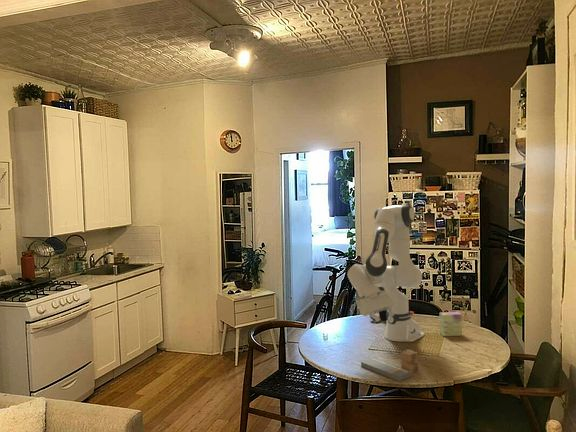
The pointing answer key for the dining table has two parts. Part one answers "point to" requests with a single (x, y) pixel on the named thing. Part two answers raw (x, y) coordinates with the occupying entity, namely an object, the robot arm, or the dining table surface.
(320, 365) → the dining table surface
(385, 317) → the milk frother
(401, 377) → the board
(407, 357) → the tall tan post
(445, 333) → the box
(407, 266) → the robot arm
